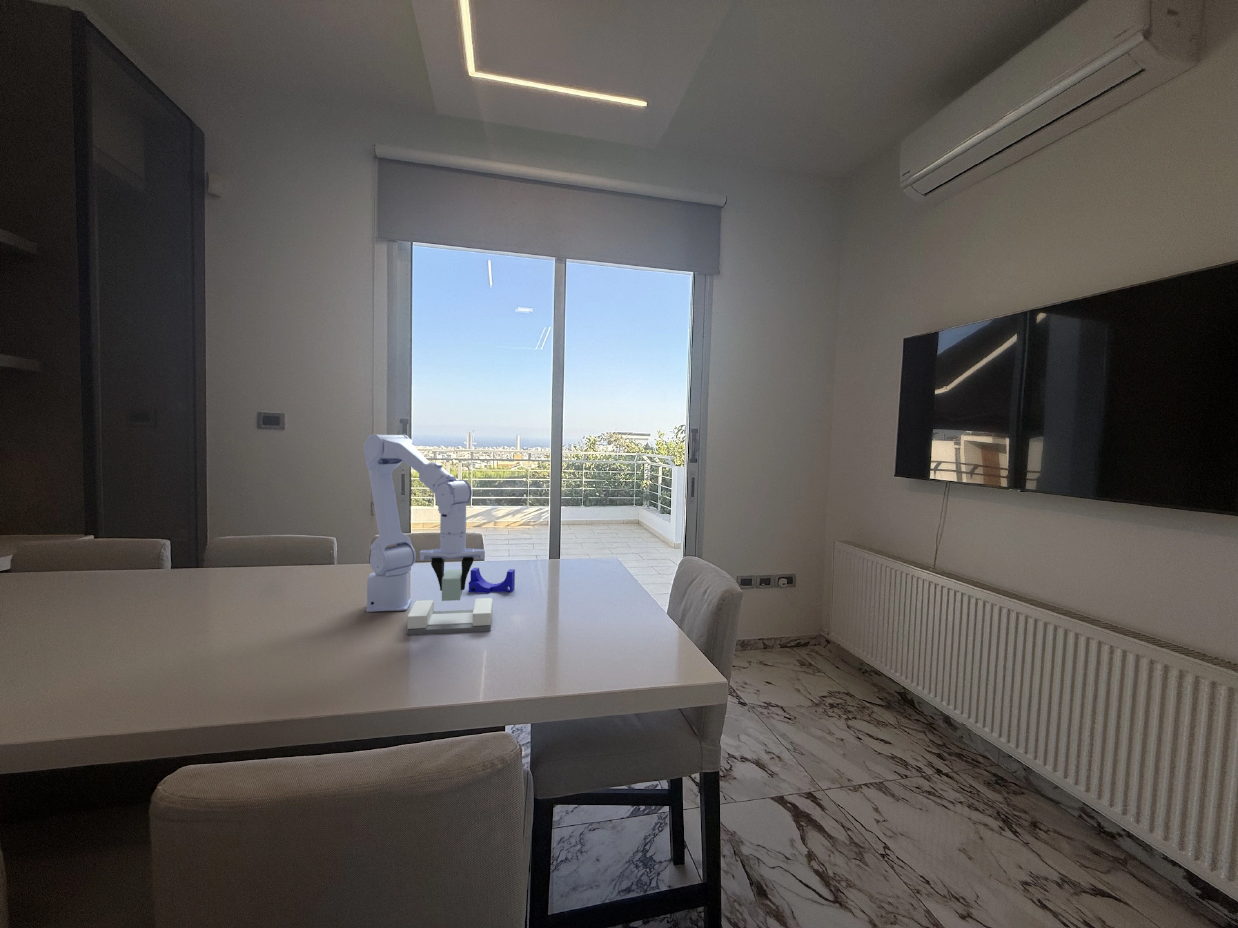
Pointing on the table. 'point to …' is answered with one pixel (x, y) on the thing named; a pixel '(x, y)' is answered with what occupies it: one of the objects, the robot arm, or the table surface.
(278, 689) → the table surface
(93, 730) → the table surface
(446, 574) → the block
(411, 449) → the robot arm
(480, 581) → the blue cradle bracket
